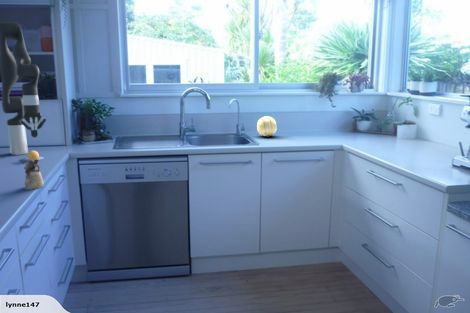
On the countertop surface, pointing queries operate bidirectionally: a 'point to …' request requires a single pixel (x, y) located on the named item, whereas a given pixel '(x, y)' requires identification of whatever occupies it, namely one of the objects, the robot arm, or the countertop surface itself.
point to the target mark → (29, 159)
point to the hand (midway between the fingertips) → (34, 137)
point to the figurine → (33, 175)
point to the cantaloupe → (266, 126)
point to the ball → (33, 155)
